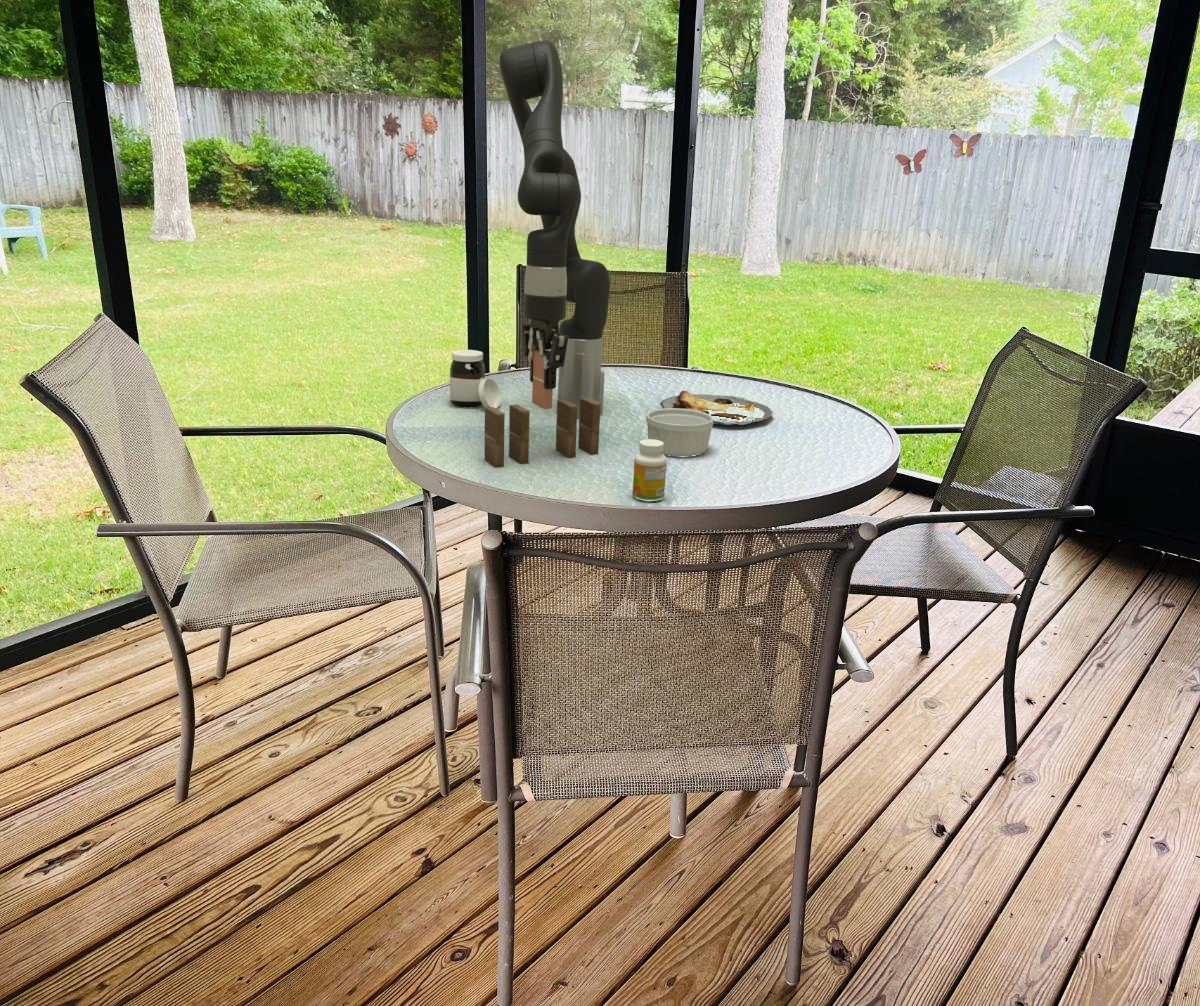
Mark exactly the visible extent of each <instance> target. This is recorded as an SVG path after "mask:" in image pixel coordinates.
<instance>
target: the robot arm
mask: <svg viewBox="0 0 1200 1006" xmlns="http://www.w3.org/2000/svg"><path fill="white" fill-rule="evenodd" d="M499 67H500V73H501V78H502V80H503V84H504V88H505V92H506V94H507V98H508V100H509V101H508V102H509V104H510V107H511V110H512V114H513V115H514V120H515V124H516V125H517V128H518V129H517V130H518V133H519V135H520V139H521V143H522V147H523V156H524V167H523V172H522V175H521V177H520V181H519V183H518V188H517V189H518V190H517V203H518V205H519V207H520V209H521V210H522V211H523V212H524V213H525V214H527V215H531V216H540V219H541V224H542V228H539V229H535V230H532V231H530V232H529V233H528V235H527V239H526V267H525V273H524V289H523V290H524V291H523V293H524V296H523V297H524V298H523V301H524V302H523V315H524V318H526V319H528V320H530V322H529V323H523V324H521V332H522V334H521V335H522V345H523V355H524V357H527V359H528V362H529V381H530V382H531V383H533V356H534V352H535V350H540V355H541V356H542V357H543V361H544V367H545V369H544V388H545V389H553V390H554V389H556V387H557V400H566V401H568V402H570V403H573V404H575V405H577V406H578V410H577V419H579V415H580V398H590V399H592V400H594V401H596V402H598V403H601V407H600V416H602V415H603V413H604V410H603V409H604V390H605V372H604V371H603V370H602V358H603V357H602V356H603V355H602V354H603V351H602V350H603V333H604V329H605V325H606V324H607V320H608V311H609V301H610V289H611V287H610V286H611V281H610V279H611V278H610V273H609V271H608V269H607V267H606V266H605V265H604V264H603V263H601V262H599V261H596V260H590V259H586V258H585V259H584V258H582V257H581V255H580V252H579V248H578V244H577V239H576V223H577V218H578V216H579V211H580V208H581V202H582V192H581V187H580V181H579V177H578V172H577V169H576V164H575V161H574V160H573V158H572V156H571V155H570V154H569V152H568V151H567V150H566V149H565V148H564V145H563V144H564V143H563V136H562V135H563V134H562V113H563V97H564V96H563V93H564V92H563V91H564V79H563V76H564V75H563V68H562V63H561V59H560V56H559V53H558V50H557V47H556V46H555V44H554V43H553V42H552V41H550V40H545V39H544V40H537V41H534V42H531V43H526V44H522V45H517V46H513V47H509V48H505V49H504V50H502V51H501V53H500V54H499ZM539 97H540V99H539V101H538V103H537V104H536V106H535V107H534V109H533V110H532V108H531V106H530V104H529V102H528V100H530V99H534V98H535V99H536V98H539ZM567 302H569V303H574V311H573V315H572V316H571V317H570V318H568V319H565V318H566V316H567V315H566V313H567ZM562 320H563V321H562ZM560 321H561V323H560ZM559 324H560V325H559ZM549 355H550V359H549V358H548V356H549ZM557 369H558V375H557ZM557 376H558V379H557Z"/></svg>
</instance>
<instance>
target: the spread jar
mask: <svg viewBox="0 0 1200 1006" xmlns="http://www.w3.org/2000/svg"><path fill="white" fill-rule="evenodd" d="M451 359H452V362H451V363H450V368H449V387H450V388H449V392H450V394H449V396H450V398H449V399H450V403H451V405H453V406H454V407H457V408H463V407H467V408H466V409H470V408H469V407H474V408H480V407H481V406H483V407H484V409H485V408H486V407H494V408H496V409H498V407H499V406H500V403H501V396H502V395H501V392H500V387H499V385H498V383H497V382H496V381H495V380H494V379H493V378H491V377H488V378H486V368H485V367H486V366H485V364H484V353H483V351H479V350H477V349H476V350H475V349H459V350H453V351H452V353H451ZM479 406H480V407H479Z"/></svg>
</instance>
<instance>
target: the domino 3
mask: <svg viewBox="0 0 1200 1006" xmlns="http://www.w3.org/2000/svg"><path fill="white" fill-rule="evenodd" d="M548 358H549V359H550V355H549V356H548ZM544 369H545V367H544V361H543V357H542V356H541V355H540V350H535V352H534V356H533V382H532V389H531V391H532V392H531V403H532V404H533V405H535V406H537V407H539V408H541V409H542V410H549V409H550V410H552V409H553V395H554V393H553V392H554V391H553V390H554V389H545V388H544Z"/></svg>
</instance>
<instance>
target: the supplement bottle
mask: <svg viewBox="0 0 1200 1006" xmlns="http://www.w3.org/2000/svg"><path fill="white" fill-rule="evenodd" d="M663 450H664V443H663V442H662V441H659V440H654V439H648V438H647V439H646V438H645V439H643V440H642V439H641V440H640V441H639V451H640V452H638V453H636V454H635V456H634V460H633V461H634V463H633V477H632V479H633V480H632V491H631V493H632V497H633V496H634V497H636V498H639V499H643V500H658V499H661V498H663V497H664V498H665V490H666V489H665V487H666V474H667V461H668V460H667V456H665V455H663V454H662V452H663ZM634 497H633V498H634ZM664 498H663V499H664Z"/></svg>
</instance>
